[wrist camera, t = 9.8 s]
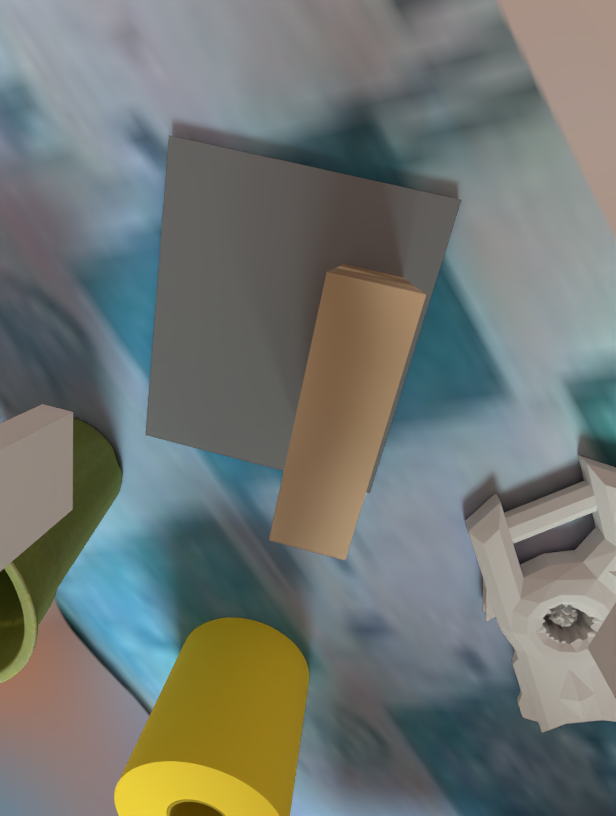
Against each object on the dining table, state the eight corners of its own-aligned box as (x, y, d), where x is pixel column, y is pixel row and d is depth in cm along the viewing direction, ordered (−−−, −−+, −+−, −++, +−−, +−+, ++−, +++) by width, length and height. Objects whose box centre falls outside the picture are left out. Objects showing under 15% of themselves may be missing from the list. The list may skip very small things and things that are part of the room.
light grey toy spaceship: (712, 737, 24) (529, 753, 27) (673, 683, 28) (513, 701, 30) (656, 459, 20) (447, 508, 23) (619, 434, 24) (439, 479, 26)
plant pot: (0, 518, 31) (-192, 656, 20) (-17, 362, 26) (-271, 434, 16) (155, 556, 30) (40, 720, 19) (164, 402, 26) (22, 505, 15)
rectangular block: (405, 277, 21) (429, 295, 12) (355, 455, 24) (347, 561, 16) (344, 263, 21) (326, 271, 13) (303, 442, 25) (268, 540, 16)
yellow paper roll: (216, 720, 35) (165, 876, 26) (160, 630, 32) (82, 771, 24) (328, 704, 33) (313, 870, 24) (278, 605, 30) (240, 751, 21)
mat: (369, 488, 26) (369, 493, 25) (150, 431, 26) (145, 434, 26) (459, 201, 20) (461, 200, 19) (174, 138, 21) (169, 135, 20)
